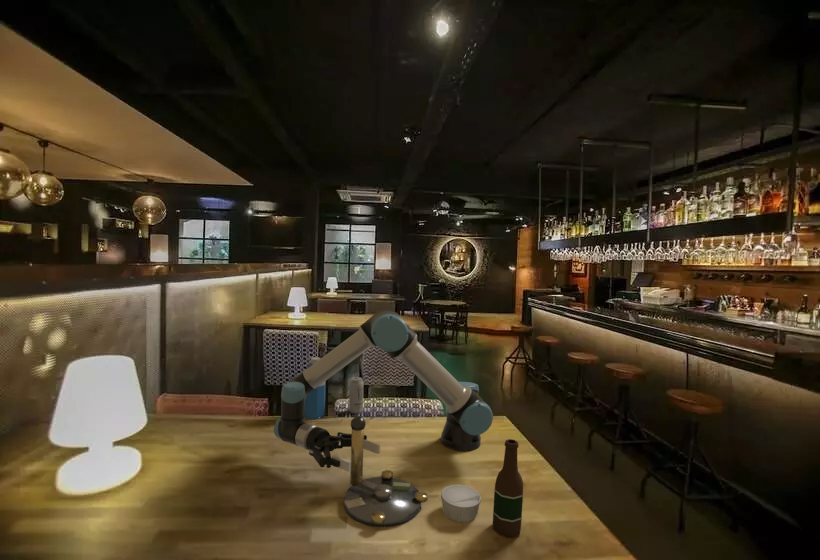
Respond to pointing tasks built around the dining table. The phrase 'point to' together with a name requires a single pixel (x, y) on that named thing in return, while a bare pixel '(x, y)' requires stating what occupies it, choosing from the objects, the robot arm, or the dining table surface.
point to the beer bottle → (508, 495)
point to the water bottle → (315, 399)
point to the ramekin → (460, 502)
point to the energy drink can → (356, 395)
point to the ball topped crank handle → (356, 474)
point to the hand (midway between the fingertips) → (365, 457)
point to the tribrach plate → (384, 502)
